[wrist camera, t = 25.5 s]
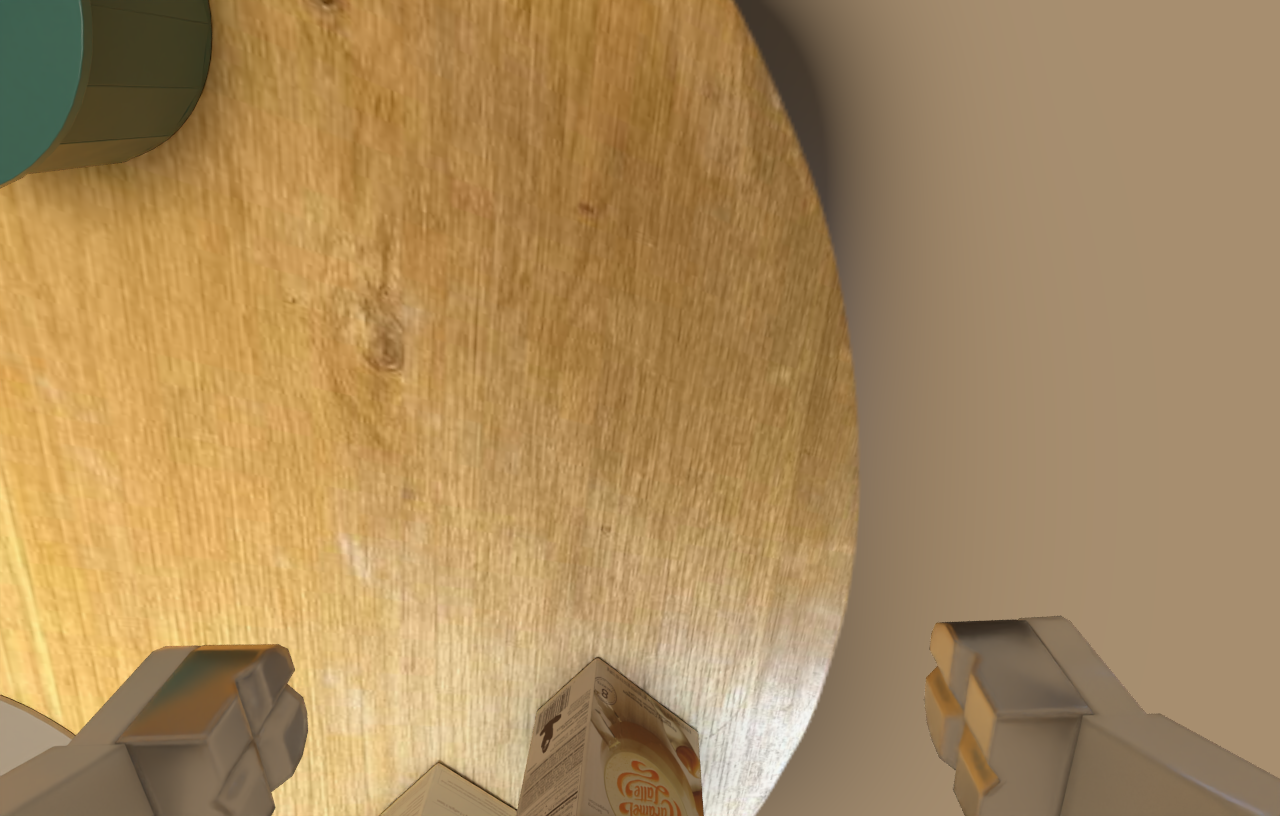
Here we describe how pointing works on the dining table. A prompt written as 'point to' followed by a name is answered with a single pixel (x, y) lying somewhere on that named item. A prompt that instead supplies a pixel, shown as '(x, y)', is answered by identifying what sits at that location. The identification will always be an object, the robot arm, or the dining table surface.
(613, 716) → the coffee box
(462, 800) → the white packaging box
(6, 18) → the tin lid
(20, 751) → the plate
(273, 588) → the dining table surface
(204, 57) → the tin
